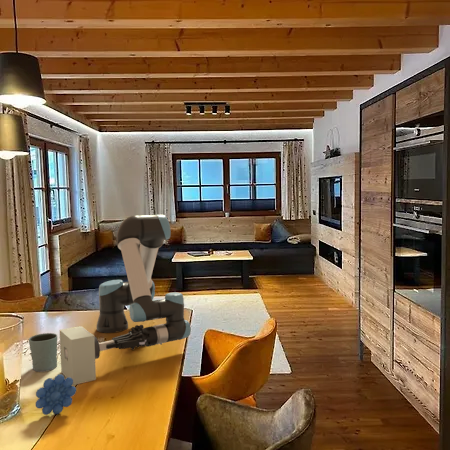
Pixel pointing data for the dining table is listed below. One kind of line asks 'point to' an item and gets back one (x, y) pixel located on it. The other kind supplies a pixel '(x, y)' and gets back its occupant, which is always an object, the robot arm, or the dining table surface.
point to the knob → (97, 349)
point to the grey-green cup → (43, 351)
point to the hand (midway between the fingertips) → (96, 347)
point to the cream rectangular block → (78, 354)
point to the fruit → (136, 331)
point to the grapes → (55, 394)
